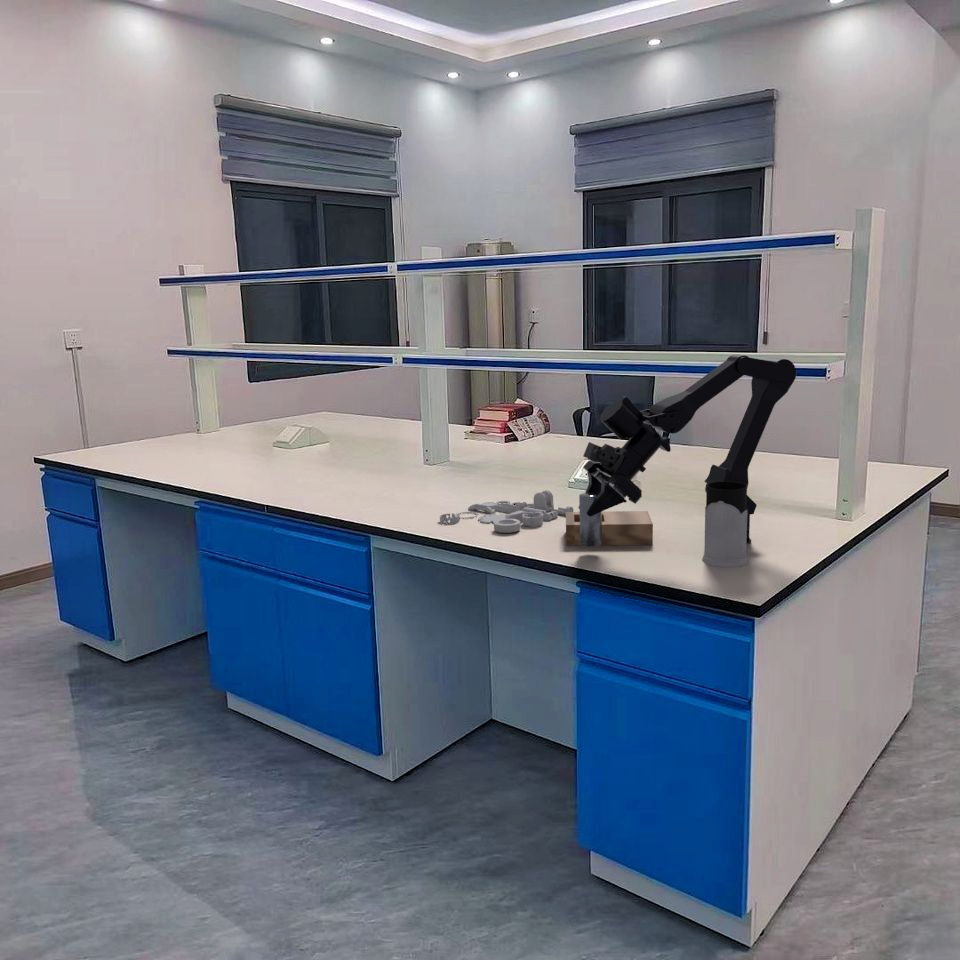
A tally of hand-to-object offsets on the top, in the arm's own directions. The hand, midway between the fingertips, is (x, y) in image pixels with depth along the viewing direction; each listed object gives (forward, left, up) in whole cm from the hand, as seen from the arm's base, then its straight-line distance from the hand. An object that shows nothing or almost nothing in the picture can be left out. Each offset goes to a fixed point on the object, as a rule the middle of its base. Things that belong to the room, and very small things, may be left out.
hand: (584, 512), depth 174 cm
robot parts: (+19, -31, -10) cm, 38 cm away
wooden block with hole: (-5, -12, -9) cm, 16 cm away
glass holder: (-28, +2, -9) cm, 30 cm away
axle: (-1, 0, -7) cm, 7 cm away
